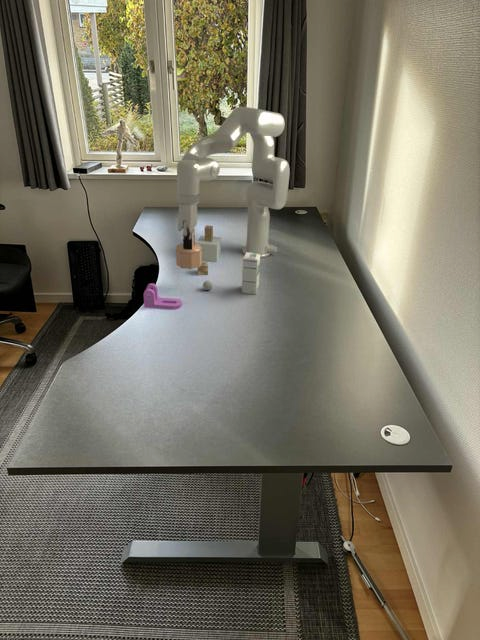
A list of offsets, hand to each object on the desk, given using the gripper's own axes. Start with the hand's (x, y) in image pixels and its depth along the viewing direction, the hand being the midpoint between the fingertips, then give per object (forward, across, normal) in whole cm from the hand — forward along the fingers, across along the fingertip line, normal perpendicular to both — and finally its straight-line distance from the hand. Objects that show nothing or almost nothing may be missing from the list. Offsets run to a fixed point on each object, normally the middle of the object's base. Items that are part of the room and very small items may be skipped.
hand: (188, 246), depth 178 cm
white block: (+17, -30, +1) cm, 35 cm away
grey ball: (+15, 0, +7) cm, 17 cm away
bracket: (+17, +15, -6) cm, 24 cm away
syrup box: (+17, -3, +23) cm, 29 cm away
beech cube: (+17, -14, +2) cm, 22 cm away
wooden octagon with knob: (+7, 0, 0) cm, 7 cm away
